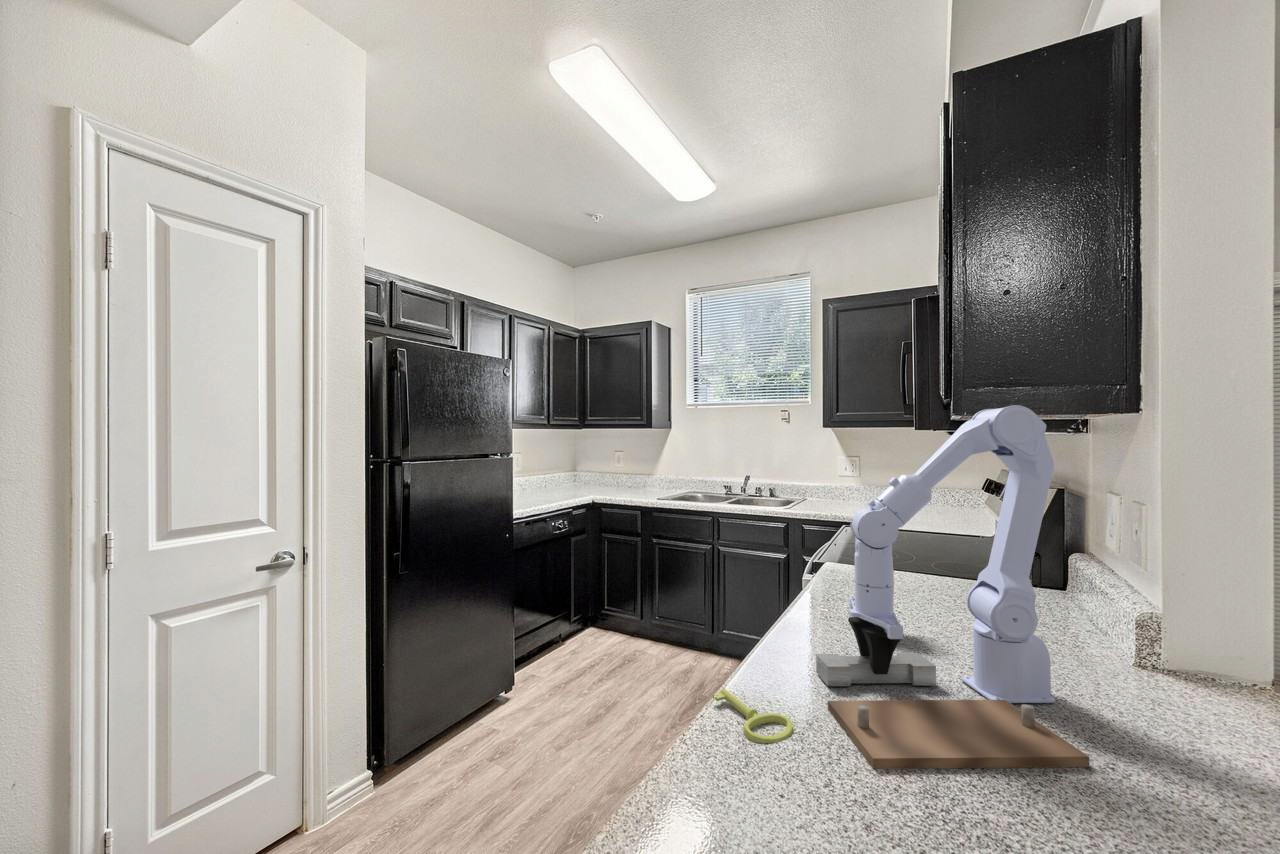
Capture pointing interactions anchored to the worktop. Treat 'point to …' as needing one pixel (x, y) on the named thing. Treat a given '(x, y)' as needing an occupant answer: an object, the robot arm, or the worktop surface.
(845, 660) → the grey stepped bar
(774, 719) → the key
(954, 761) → the rack board
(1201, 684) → the worktop surface
